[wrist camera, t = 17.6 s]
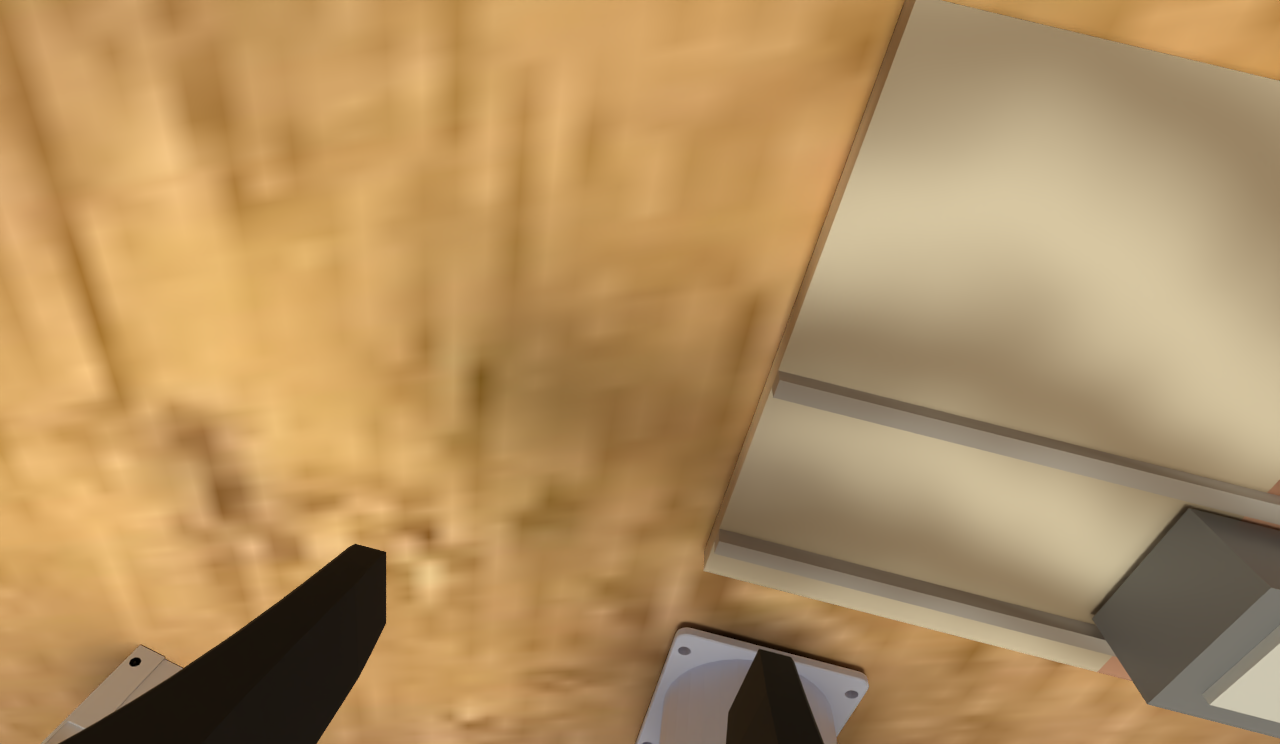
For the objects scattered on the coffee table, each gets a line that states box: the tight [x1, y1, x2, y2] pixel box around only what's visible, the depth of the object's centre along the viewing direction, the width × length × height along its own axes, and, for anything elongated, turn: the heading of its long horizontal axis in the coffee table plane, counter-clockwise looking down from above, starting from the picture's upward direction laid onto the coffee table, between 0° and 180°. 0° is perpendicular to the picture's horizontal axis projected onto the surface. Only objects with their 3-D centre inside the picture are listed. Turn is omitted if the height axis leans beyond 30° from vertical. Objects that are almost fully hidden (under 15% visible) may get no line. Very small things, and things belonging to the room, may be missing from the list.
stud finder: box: [1092, 508, 1280, 738], centre depth 17 cm, size 5×6×4 cm
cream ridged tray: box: [704, 0, 1280, 681], centre depth 17 cm, size 18×24×2 cm
